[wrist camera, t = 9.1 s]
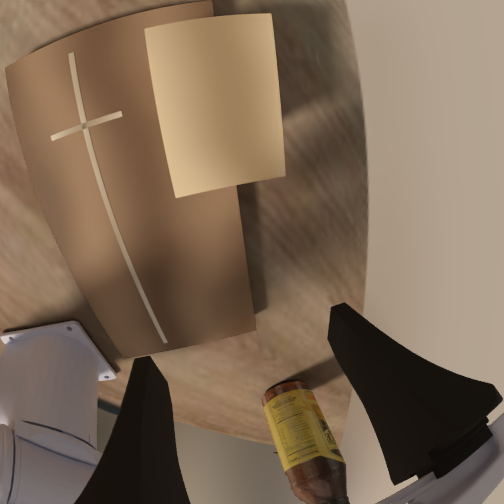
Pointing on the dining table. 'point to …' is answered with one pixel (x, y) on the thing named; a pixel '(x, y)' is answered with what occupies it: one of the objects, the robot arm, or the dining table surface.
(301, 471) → the sauce bottle
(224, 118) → the light wooden block
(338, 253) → the dining table surface
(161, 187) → the walnut board
